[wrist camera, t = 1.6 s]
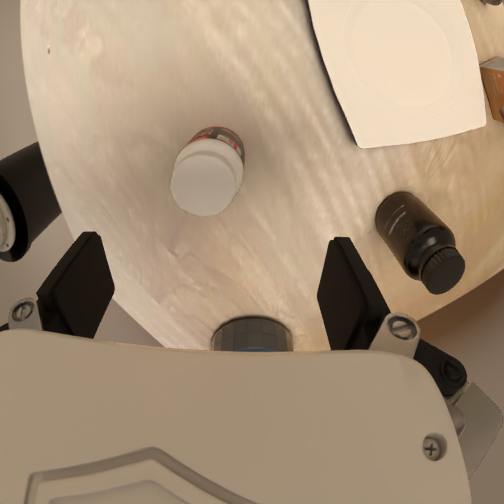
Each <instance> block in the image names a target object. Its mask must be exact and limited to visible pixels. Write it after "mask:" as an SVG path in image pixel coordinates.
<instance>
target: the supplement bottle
mask: <svg viewBox="0 0 504 504" xmlns="http://www.w3.org/2000/svg"><path fill="white" fill-rule="evenodd" d="M376 226H377V230H378V232H379V234H380V235H381V237H382V238H383V240H384V241H385V243H386V244H387V246H388V247H389V248H390V250H391V251H392V253H393V254H394V256H395V257H396V259H397V261H398V262H399V264H400V265H401V267H402V268H403V270H404V271H405V273H406V274H407V275H408V276H409V277H411V278H412V279H415V280H419V281H422V283H423V284H424V285H425V287H426V288H427V290H428V291H429V292H430V293H432V294H435V295H436V294H438V295H439V294H443V293H445V292H447V291H449V290H450V289H452V288H453V287H454V286H455V285H456V284H457V283H458V282H459V280H460V279H461V277H462V275H463V273H464V269H465V261H464V259H463V257H462V256H461V255H460V254H459V252H458V250H457V249H456V248H455V247H456V244H455V238H454V235H453V233H452V231H451V230H450V229H449V228H448V227H447V226H446V225H445V224H444V223H443V222H442V221H441V220H440V219H439V218H438V217H437V216H436V215H435V214H434V213H433V212H432V211H431V210H430V209H429V208H428V207H427V206H426V205H425V204H424V203H423V202H421V201H420V200H419V199H418V198H417V197H416V196H414V195H412V194H410V193H405V192H402V193H397V194H394V195H392V196H390V197H389V198H388V199H386V200H385V201H384V202H383V204H382V205H381V207H380V208H379V211H378V213H377V217H376Z"/></svg>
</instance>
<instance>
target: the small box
mask: <svg viewBox="0 0 504 504" xmlns="http://www.w3.org/2000/svg"><path fill="white" fill-rule="evenodd" d="M479 68H480V74H481V77H482V80H483V83H484V86H485V89H486V92H487V95H488V99H489V102H490V106H491V110H492V115H493V118H494V119H495V120H498V121H500V122H503V123H504V58H501V57H496V58H494V59H492V60H489V61H487V62H485V63H483V64H481V65H479Z"/></svg>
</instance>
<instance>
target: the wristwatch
mask: <svg viewBox="0 0 504 504" xmlns="http://www.w3.org/2000/svg"><path fill="white" fill-rule="evenodd" d="M483 1H485V2H487V3H489V4H491V5H499V4H501V2H502V0H483Z"/></svg>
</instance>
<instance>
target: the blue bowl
mask: <svg viewBox="0 0 504 504" xmlns="http://www.w3.org/2000/svg"><path fill="white" fill-rule="evenodd" d="M211 351H234V352H294V346H293V340H292V337H291V334H290V333H289V332H288V331H287V330H286V329H285V328H284V327H283V326H281V325H279V324H278V323H276V322H274V321H271V320H268V319H263V318H243V319H239V320H235V321H233V322H230V323H228V324H227V325H225V326H223V327H222V328H221V329H220V330H219V331H217V332H216V333H215V335H214V337H213V339H212V345H211Z"/></svg>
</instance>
